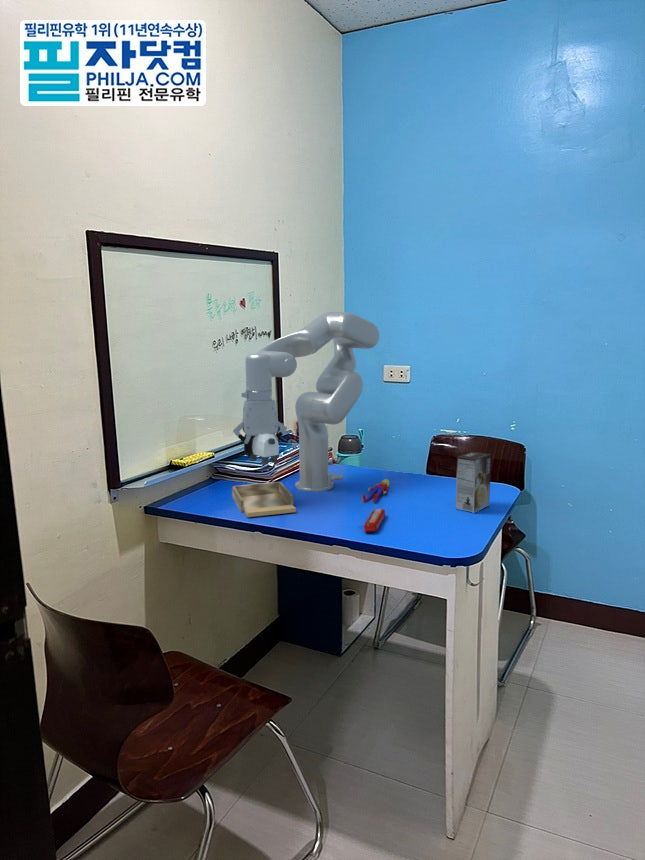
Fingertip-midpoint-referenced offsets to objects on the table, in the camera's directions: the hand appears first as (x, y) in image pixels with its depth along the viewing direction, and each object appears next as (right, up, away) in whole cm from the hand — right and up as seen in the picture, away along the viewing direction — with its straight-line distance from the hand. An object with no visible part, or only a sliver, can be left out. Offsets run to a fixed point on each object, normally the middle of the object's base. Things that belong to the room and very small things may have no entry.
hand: (260, 454), depth 189 cm
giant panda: (0, -2, 0) cm, 2 cm away
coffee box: (+63, -16, -3) cm, 65 cm away
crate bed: (0, -15, +3) cm, 15 cm away
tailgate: (+3, -16, -6) cm, 17 cm away
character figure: (+36, -13, +12) cm, 41 cm away
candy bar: (+33, -19, -16) cm, 41 cm away
